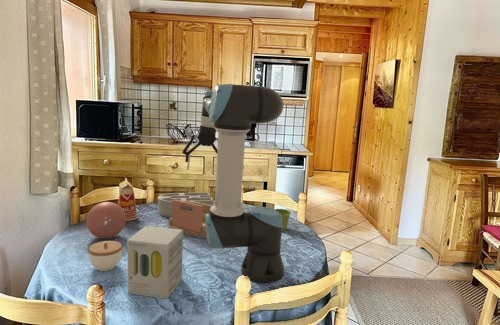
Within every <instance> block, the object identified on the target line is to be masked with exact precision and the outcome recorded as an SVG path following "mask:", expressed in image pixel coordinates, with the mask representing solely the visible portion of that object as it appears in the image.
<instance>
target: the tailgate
mask: <svg viewBox="0 0 500 325" xmlns="http://www.w3.org/2000/svg"><path fill="white" fill-rule="evenodd" d="M171 218H172V225H173V226H177V227H181V228H185V229H189V230H193V231H196V232H200V233H201V230H202V224H203V206H202V205H198V204H193V203H188V202H184V201H179V200H172V217H171Z"/></svg>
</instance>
